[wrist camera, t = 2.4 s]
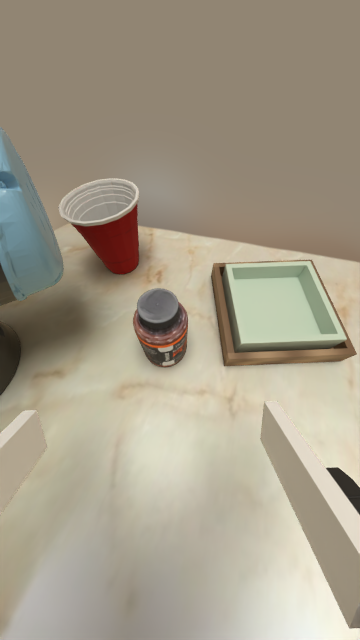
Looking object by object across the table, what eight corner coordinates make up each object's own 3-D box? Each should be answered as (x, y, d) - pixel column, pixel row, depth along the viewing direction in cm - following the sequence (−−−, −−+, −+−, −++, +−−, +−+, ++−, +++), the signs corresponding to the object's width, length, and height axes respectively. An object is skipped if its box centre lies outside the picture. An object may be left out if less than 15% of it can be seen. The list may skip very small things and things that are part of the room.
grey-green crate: (234, 353, 27) (241, 343, 24) (221, 279, 34) (225, 264, 31) (328, 349, 28) (347, 339, 24) (298, 276, 34) (310, 261, 31)
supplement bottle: (181, 372, 27) (180, 340, 17) (139, 362, 28) (115, 325, 18) (190, 333, 30) (194, 285, 20) (152, 325, 30) (137, 275, 21)
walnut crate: (224, 365, 27) (228, 359, 25) (211, 275, 35) (213, 263, 32) (340, 361, 27) (356, 354, 25) (302, 272, 35) (311, 259, 32)
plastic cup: (117, 235, 40) (94, 166, 30) (162, 254, 38) (155, 186, 27) (79, 270, 36) (36, 204, 25) (127, 295, 33) (101, 232, 23)
